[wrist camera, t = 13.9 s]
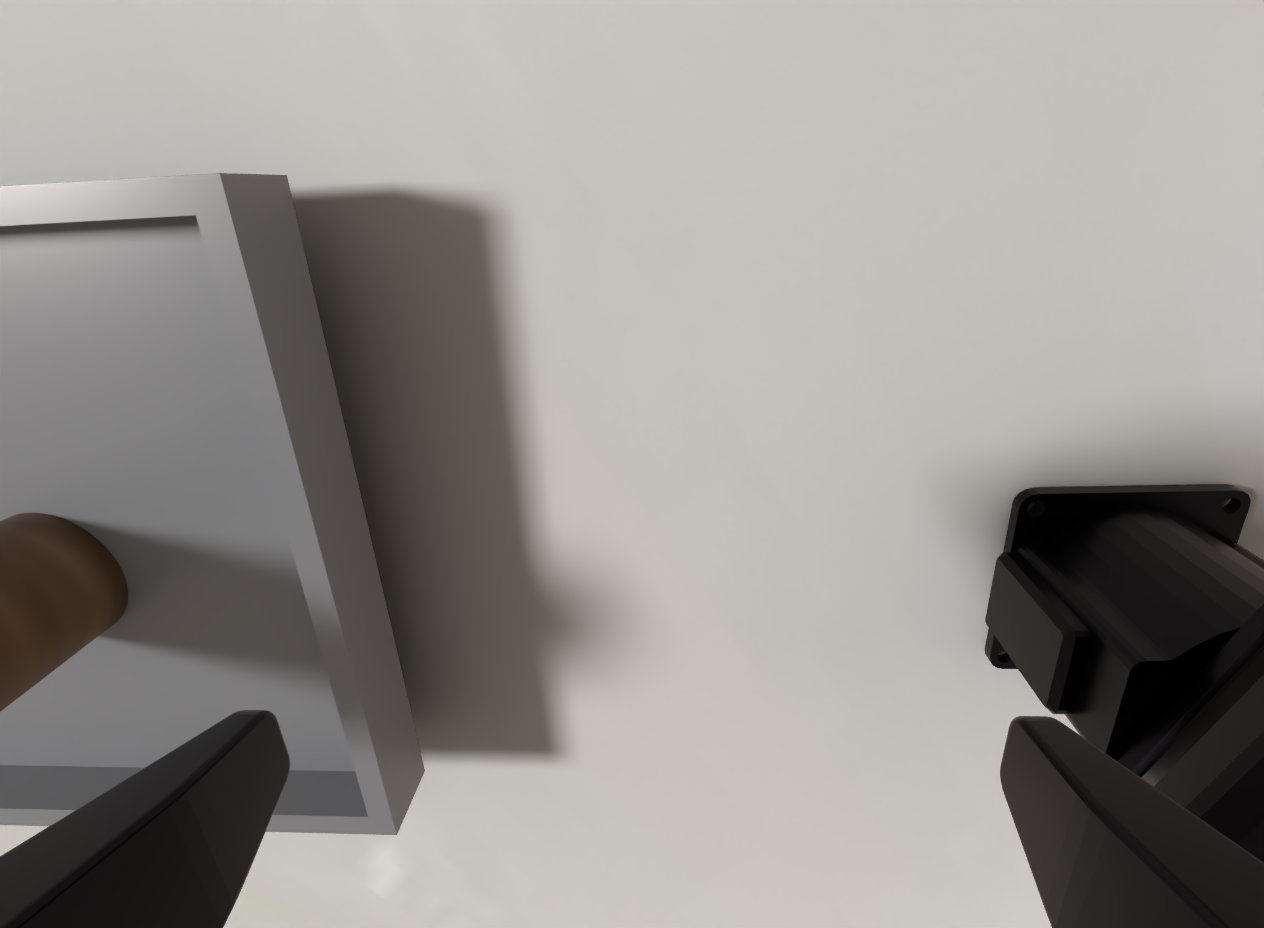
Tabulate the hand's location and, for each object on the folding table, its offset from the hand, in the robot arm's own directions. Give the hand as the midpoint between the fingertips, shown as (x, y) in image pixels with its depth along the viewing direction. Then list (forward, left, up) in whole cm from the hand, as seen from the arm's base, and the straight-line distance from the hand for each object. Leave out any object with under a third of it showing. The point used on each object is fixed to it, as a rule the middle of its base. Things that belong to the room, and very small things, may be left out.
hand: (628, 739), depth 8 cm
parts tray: (+19, +3, -13) cm, 23 cm away
